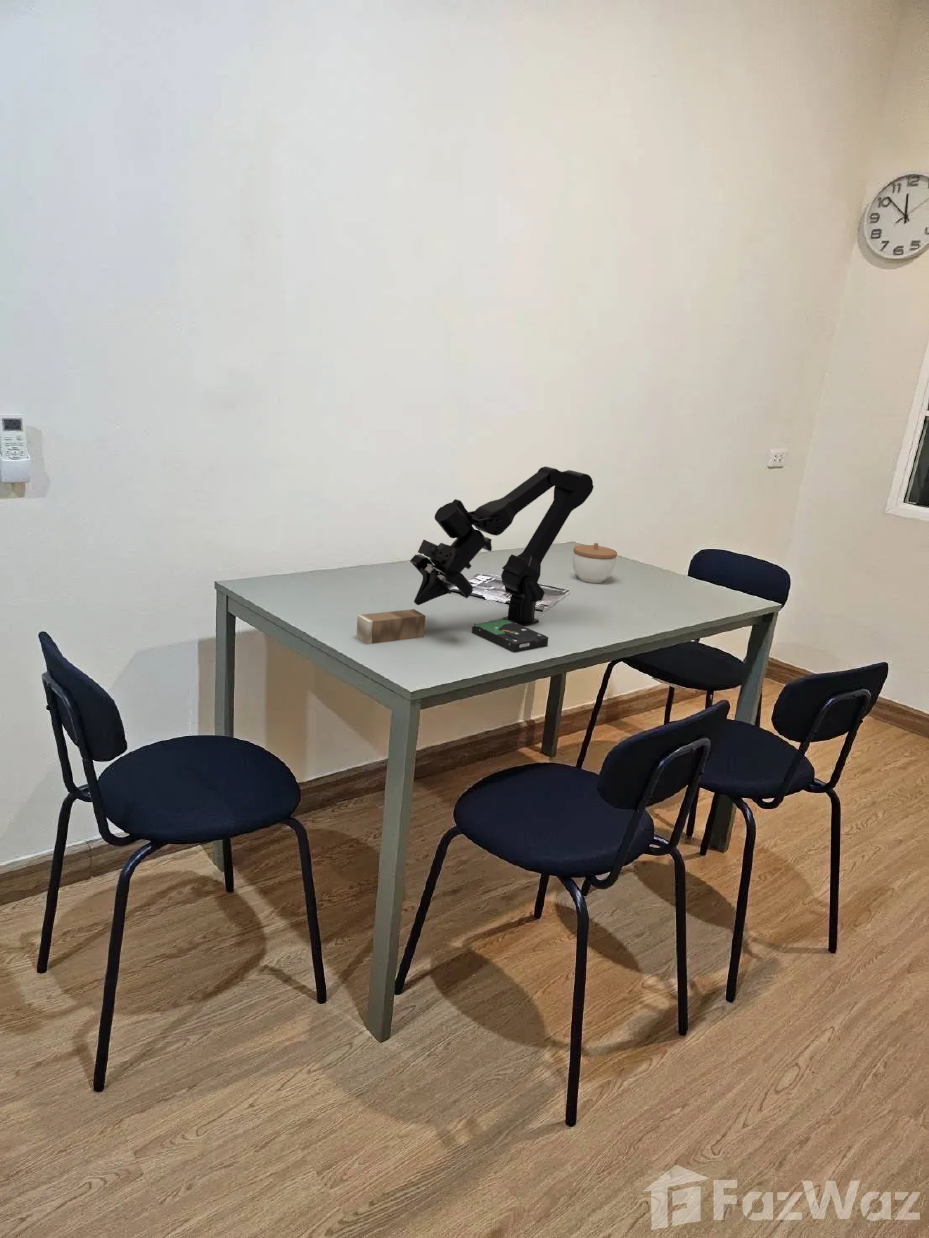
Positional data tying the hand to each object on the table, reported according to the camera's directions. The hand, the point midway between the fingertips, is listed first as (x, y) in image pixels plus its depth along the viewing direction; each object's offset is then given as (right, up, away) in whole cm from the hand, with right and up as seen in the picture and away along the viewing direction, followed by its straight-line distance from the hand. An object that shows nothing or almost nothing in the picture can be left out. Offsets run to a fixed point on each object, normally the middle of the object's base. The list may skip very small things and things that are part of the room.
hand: (415, 603), depth 187 cm
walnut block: (+1, -4, +2) cm, 5 cm away
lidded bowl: (+48, +8, +64) cm, 80 cm away
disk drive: (+21, -9, +5) cm, 23 cm away
